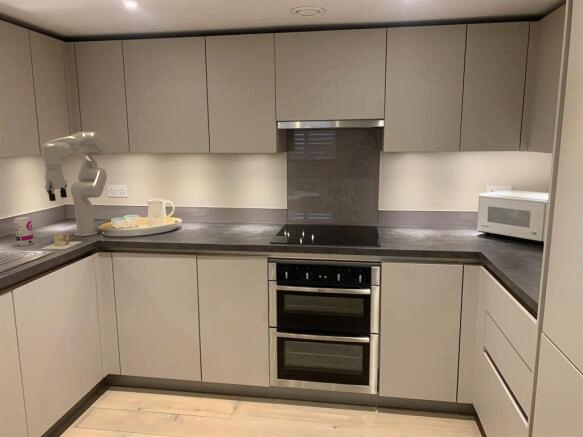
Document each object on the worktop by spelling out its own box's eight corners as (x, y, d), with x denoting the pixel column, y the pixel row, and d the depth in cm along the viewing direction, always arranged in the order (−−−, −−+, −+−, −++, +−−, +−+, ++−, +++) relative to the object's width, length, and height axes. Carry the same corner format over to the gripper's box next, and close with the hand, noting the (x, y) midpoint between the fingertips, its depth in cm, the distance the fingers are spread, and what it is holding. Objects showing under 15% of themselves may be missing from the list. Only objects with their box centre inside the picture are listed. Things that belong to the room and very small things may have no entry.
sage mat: (59, 242, 251) (59, 241, 251) (82, 242, 249) (82, 241, 249) (40, 249, 235) (40, 248, 235) (65, 249, 233) (64, 248, 233)
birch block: (60, 243, 245) (59, 233, 244) (69, 243, 244) (67, 233, 243) (54, 246, 240) (53, 235, 239) (63, 246, 239) (62, 235, 238)
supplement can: (37, 242, 251) (33, 216, 248) (29, 246, 243) (25, 219, 240) (22, 243, 251) (18, 216, 248) (14, 246, 243) (10, 219, 240)
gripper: (57, 165, 246) (61, 196, 249) (36, 169, 229) (41, 202, 233) (70, 165, 245) (74, 196, 249) (49, 169, 228) (54, 202, 232)
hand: (58, 199), depth 241 cm, fingers open, 9 cm apart
